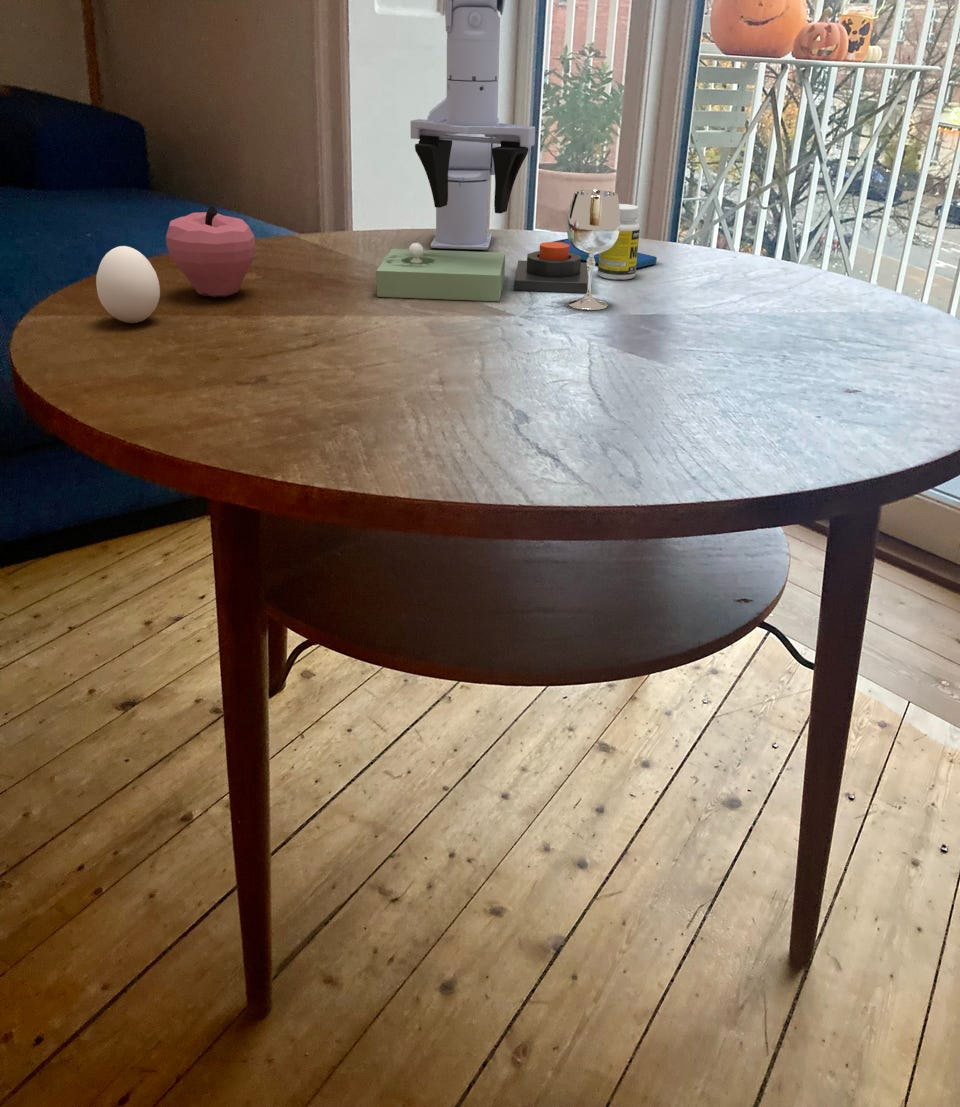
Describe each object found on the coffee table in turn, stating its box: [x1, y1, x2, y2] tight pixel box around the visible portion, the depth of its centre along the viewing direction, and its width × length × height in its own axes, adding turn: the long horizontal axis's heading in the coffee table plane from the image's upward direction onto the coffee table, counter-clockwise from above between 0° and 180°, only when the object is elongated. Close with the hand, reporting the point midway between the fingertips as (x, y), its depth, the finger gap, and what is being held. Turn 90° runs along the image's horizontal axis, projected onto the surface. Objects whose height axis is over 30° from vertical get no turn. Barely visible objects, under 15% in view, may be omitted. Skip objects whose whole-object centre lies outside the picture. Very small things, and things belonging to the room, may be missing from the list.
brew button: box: [538, 241, 570, 260], centre depth 120 cm, size 4×4×2 cm
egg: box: [95, 245, 161, 324], centre depth 100 cm, size 6×6×8 cm
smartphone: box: [552, 238, 658, 269], centre depth 133 cm, size 7×1×15 cm
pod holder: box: [375, 248, 506, 302], centre depth 117 cm, size 12×14×3 cm
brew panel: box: [514, 250, 588, 294], centre depth 121 cm, size 11×9×3 cm
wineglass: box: [566, 189, 620, 311], centre depth 109 cm, size 6×6×12 cm
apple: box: [165, 205, 256, 298], centre depth 110 cm, size 10×9×10 cm
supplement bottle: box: [597, 203, 641, 281], centre depth 123 cm, size 5×5×8 cm
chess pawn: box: [408, 242, 424, 264], centre depth 117 cm, size 3×3×5 cm
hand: (470, 209), depth 115 cm, fingers open, 7 cm apart
